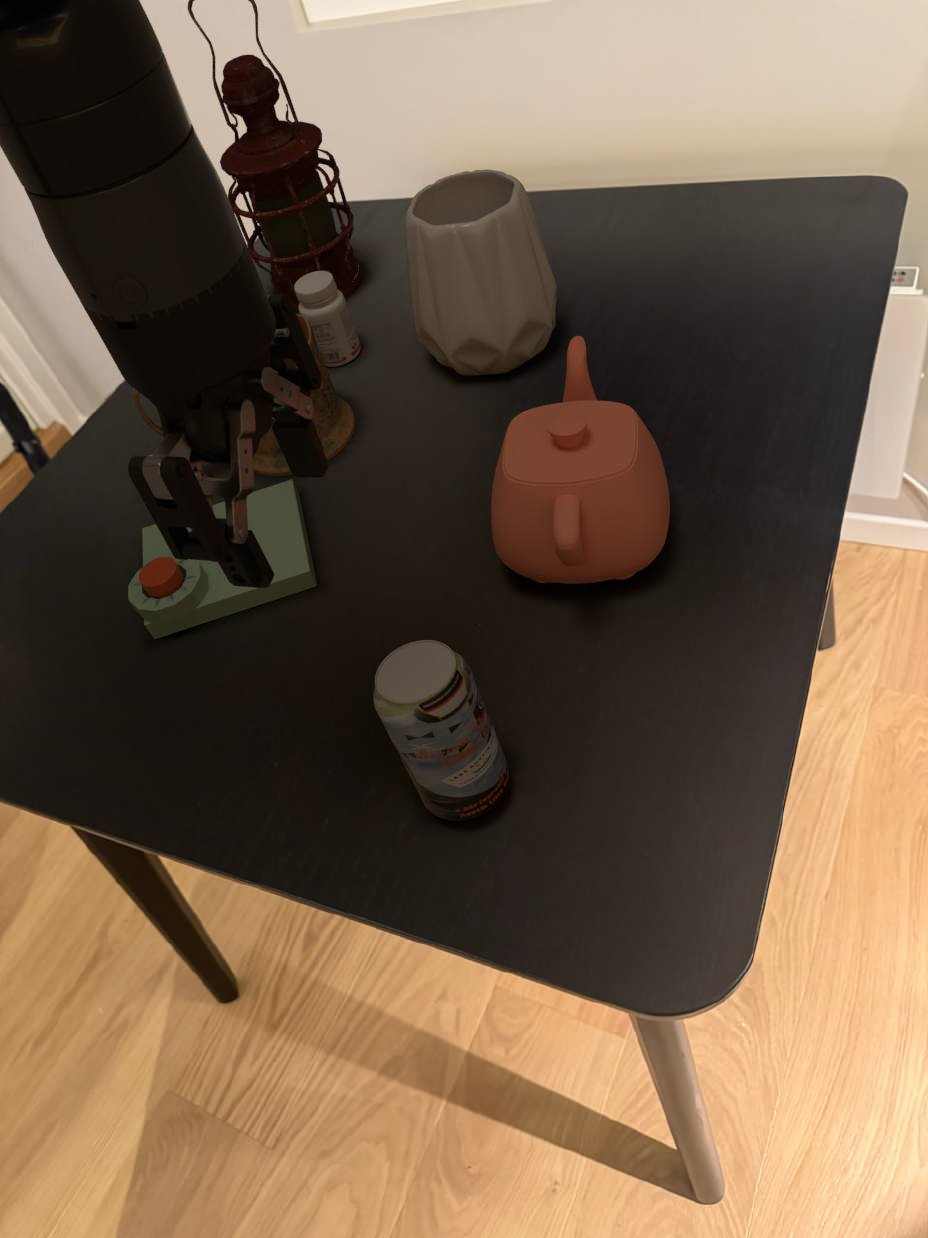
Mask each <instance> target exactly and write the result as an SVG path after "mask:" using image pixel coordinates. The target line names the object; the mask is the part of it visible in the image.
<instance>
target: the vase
mask: <svg viewBox="0 0 928 1238" xmlns="http://www.w3.org/2000/svg"><path fill="white" fill-rule="evenodd" d="M404 232H405V245H406V254H407V255H406V256H407V268H408V278H409V287H410V299H411V307H412V315H413V321H414V327H415V333H416V339H417V340H418V341H419V343H420V345H421V346H422V347H423V348H424V349H425V350H426V351H427V352H428V353H429V354H430V355H431V356H433V357H434V358H435V360H436V361H437V362H438V363H439V364H441V365H442V366H445V367H448V368H451V369H453V371H455V372H456V373H457V374H459V375H461V376H464V377H470V376H471V377H472V376H474V377H476V376H487V375H489V376H490V375H501V374H507V373H509V372H511V371H513V370H515V369H517V368H518V367H520V366H521V365H524V364H525V363H526V362H528V361H529V360H532V359H533V358H534V357H536V356H537V355H538V354H540V353H541V352H542V351H544V350H545V349H546V348H547V345H548V344H549V342H550V340H551V339H550V338H551V336H552V333H553V331H554V329H555V328H556V314H557V313H556V311H557V310H556V307H557V301H558V294H557V292H558V291H557V290H558V289H557V286H558V285H557V282H556V279H555V276H554V274H553V271H552V267H551V263H550V261H549V257H548V254H547V251H546V247H545V243H544V241H543V238H542V234H541V232H540V229H539V225H538V223H537V220H536V216H535V213H534V210H533V208H532V204H531V201H530V198H529V196H528V193H527V190H526V188H525V186H524V185H523V183H522V182H521V181H520V180H519V179H518V178H517V177H515V176H514V175H511V174H507V173H506V172H503V171H502V170H501V171H500V170H493V169H477V170H476V169H474V170H473V171H469V170H468V171H467V170H465V171H462V172H458V173H455V174H451V175H448V176H445V177H443V178H439V179H437V180H436V181H435V182H434V183H432V184H428V185H426V186H424V187H423V188H421V189H420V190H418V192H416V194H415V195H414V196H413V198H412V199H411V201H410V204H409V206H408V208H407V211H406V214H405V220H404Z"/></svg>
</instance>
